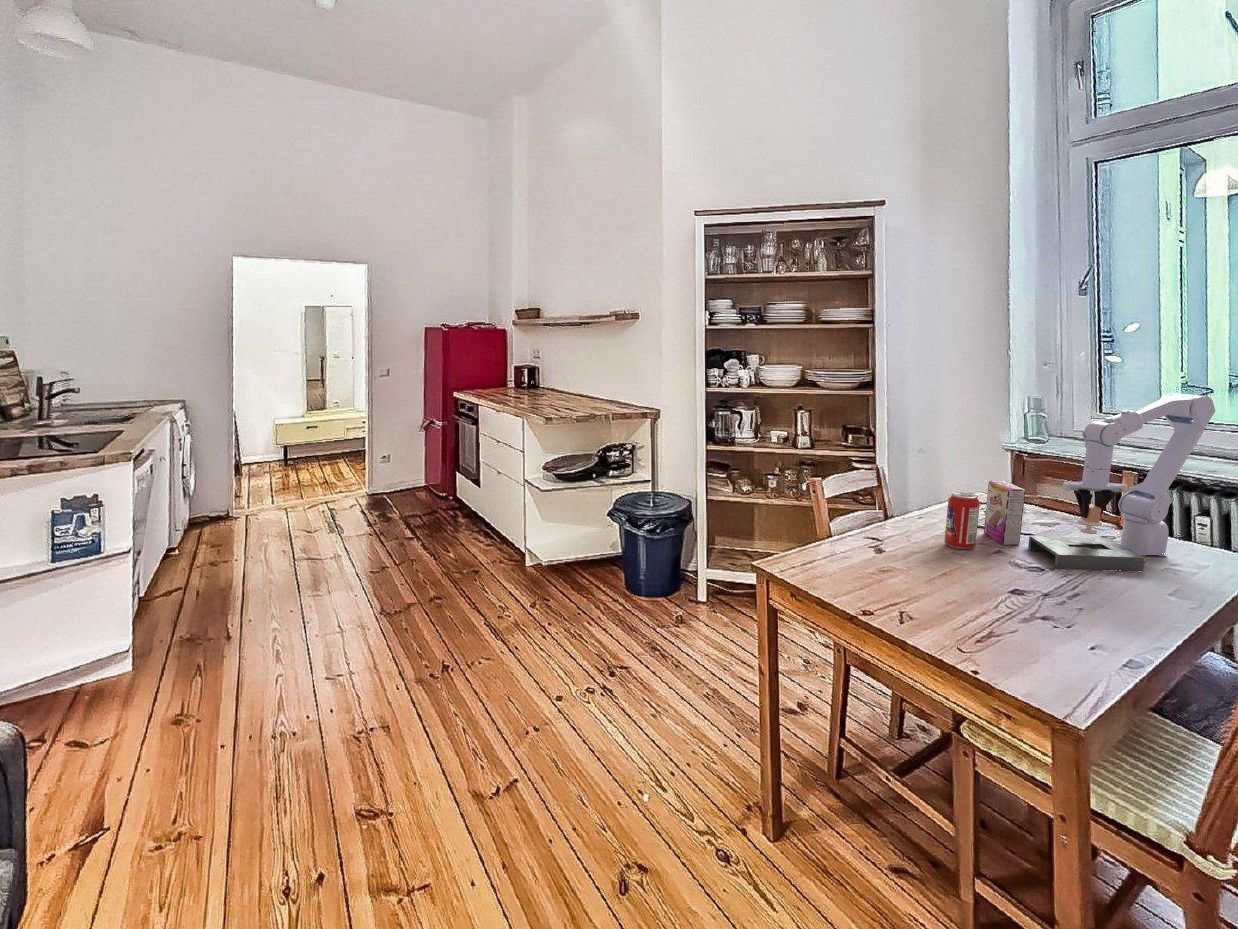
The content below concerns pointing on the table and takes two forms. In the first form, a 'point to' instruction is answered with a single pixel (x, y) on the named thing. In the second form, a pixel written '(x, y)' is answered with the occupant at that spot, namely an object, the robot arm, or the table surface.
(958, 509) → the soda can
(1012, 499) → the candy bar box
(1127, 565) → the keyhole bracket
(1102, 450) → the robot arm
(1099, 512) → the peg
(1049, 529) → the table surface
